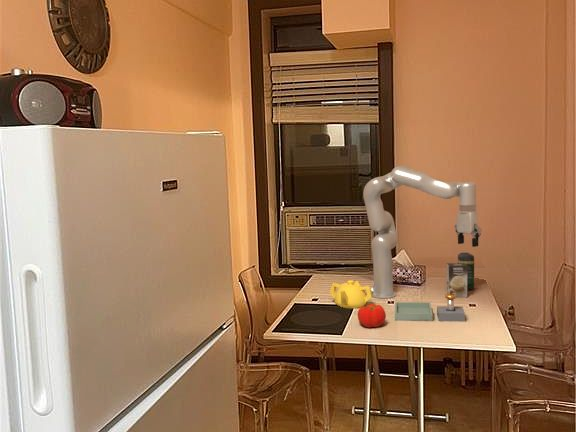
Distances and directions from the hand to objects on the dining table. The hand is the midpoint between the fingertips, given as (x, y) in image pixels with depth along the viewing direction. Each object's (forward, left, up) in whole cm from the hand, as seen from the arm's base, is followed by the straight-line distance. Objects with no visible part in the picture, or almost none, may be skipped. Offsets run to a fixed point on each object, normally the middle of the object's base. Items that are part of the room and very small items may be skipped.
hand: (467, 245), depth 284 cm
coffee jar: (+2, +29, -28) cm, 40 cm away
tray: (-26, -20, -28) cm, 43 cm away
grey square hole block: (-10, -24, -28) cm, 38 cm away
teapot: (-55, -5, -28) cm, 62 cm away
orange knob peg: (-10, -24, -28) cm, 38 cm away
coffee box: (-4, +13, -28) cm, 31 cm away
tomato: (-44, -37, -28) cm, 64 cm away
